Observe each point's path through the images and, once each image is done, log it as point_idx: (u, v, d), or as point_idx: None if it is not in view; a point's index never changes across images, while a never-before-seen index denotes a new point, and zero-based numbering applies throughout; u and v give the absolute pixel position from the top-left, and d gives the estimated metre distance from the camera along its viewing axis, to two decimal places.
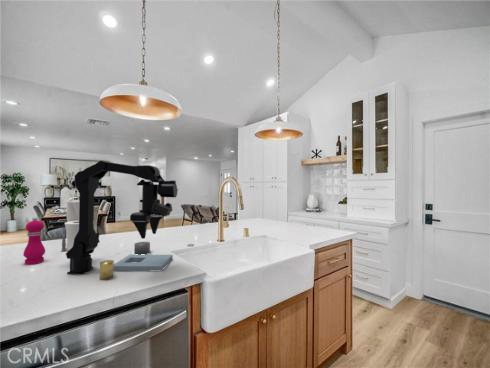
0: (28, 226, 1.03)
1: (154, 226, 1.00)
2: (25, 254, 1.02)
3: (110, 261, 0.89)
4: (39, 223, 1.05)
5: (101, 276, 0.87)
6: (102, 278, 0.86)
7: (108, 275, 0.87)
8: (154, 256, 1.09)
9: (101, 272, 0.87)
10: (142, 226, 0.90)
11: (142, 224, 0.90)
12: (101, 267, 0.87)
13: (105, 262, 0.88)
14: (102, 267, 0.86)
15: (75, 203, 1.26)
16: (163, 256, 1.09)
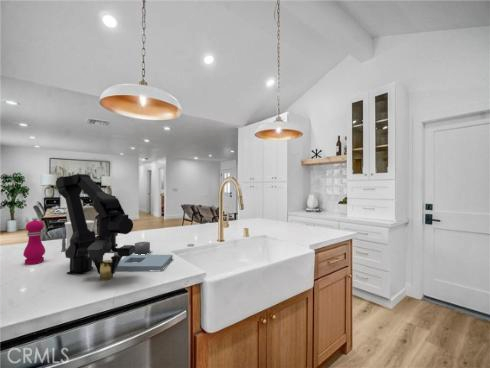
0: (28, 226, 1.03)
1: None
2: (25, 254, 1.02)
3: (110, 261, 0.89)
4: (39, 223, 1.05)
5: (101, 276, 0.87)
6: (102, 278, 0.86)
7: (108, 275, 0.87)
8: (154, 256, 1.09)
9: (101, 272, 0.87)
10: None
11: None
12: (101, 267, 0.87)
13: (105, 262, 0.88)
14: (102, 267, 0.86)
15: None
16: (163, 256, 1.09)
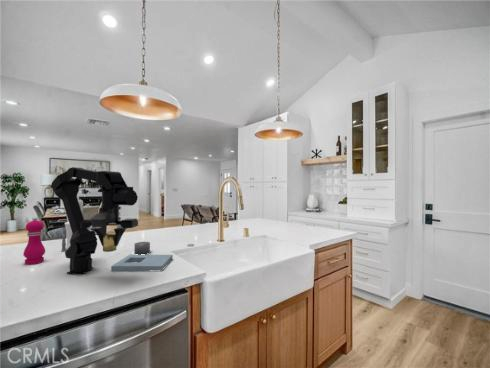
0: (28, 226, 1.03)
1: None
2: (25, 254, 1.02)
3: (113, 234, 0.90)
4: (39, 223, 1.05)
5: (104, 248, 0.88)
6: (105, 249, 0.88)
7: (111, 247, 0.88)
8: (154, 256, 1.09)
9: (104, 244, 0.88)
10: None
11: None
12: (104, 239, 0.88)
13: (108, 234, 0.89)
14: (105, 238, 0.88)
15: None
16: (163, 256, 1.09)
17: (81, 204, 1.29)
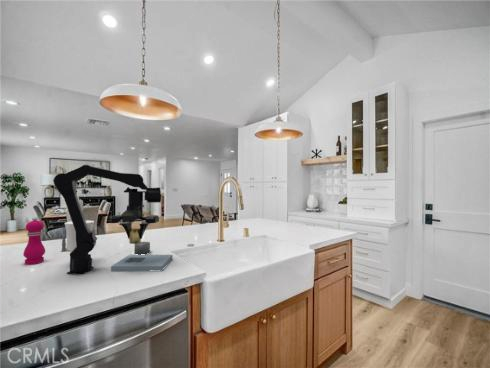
0: (28, 226, 1.03)
1: None
2: (25, 254, 1.02)
3: (138, 228, 1.04)
4: (39, 223, 1.05)
5: (131, 240, 1.02)
6: (132, 242, 1.01)
7: (137, 240, 1.02)
8: (154, 256, 1.09)
9: (131, 237, 1.02)
10: None
11: None
12: (131, 232, 1.02)
13: (134, 228, 1.03)
14: (131, 232, 1.02)
15: None
16: (163, 256, 1.09)
17: (81, 204, 1.29)
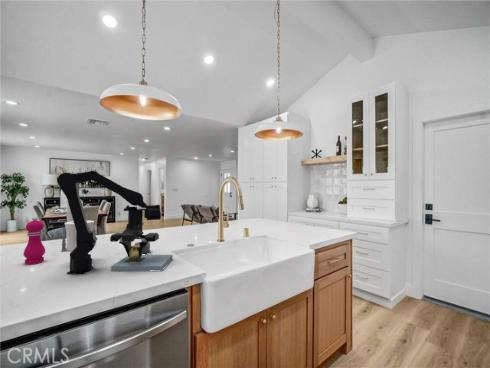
0: (28, 226, 1.03)
1: None
2: (25, 254, 1.02)
3: (138, 246, 1.04)
4: (39, 223, 1.05)
5: (131, 258, 1.02)
6: (131, 260, 1.01)
7: (137, 258, 1.02)
8: (154, 256, 1.09)
9: (131, 255, 1.02)
10: None
11: None
12: (131, 251, 1.02)
13: (133, 247, 1.03)
14: (131, 250, 1.01)
15: None
16: (163, 256, 1.09)
17: None
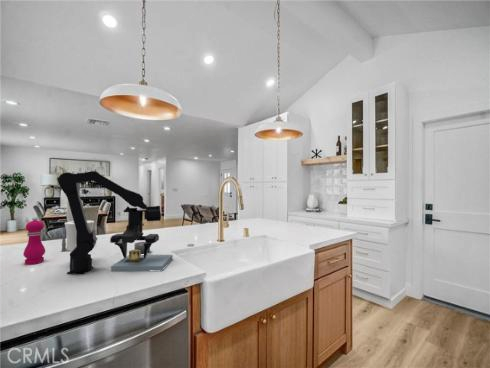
0: (28, 226, 1.03)
1: None
2: (25, 254, 1.02)
3: (137, 250, 1.04)
4: (39, 223, 1.05)
5: None
6: None
7: (136, 262, 1.02)
8: (154, 256, 1.09)
9: (130, 259, 1.02)
10: None
11: None
12: (130, 255, 1.02)
13: (133, 251, 1.03)
14: (131, 255, 1.01)
15: None
16: (163, 256, 1.09)
17: None
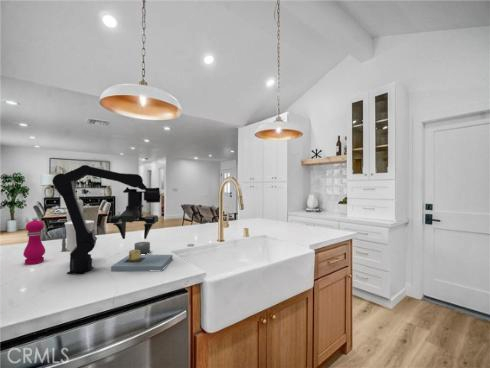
0: (28, 226, 1.03)
1: None
2: (25, 254, 1.02)
3: (137, 250, 1.04)
4: (39, 223, 1.05)
5: None
6: None
7: (136, 262, 1.02)
8: (154, 256, 1.09)
9: (130, 259, 1.02)
10: None
11: None
12: (130, 255, 1.02)
13: (133, 251, 1.03)
14: (131, 255, 1.01)
15: None
16: (163, 256, 1.09)
17: (81, 204, 1.29)
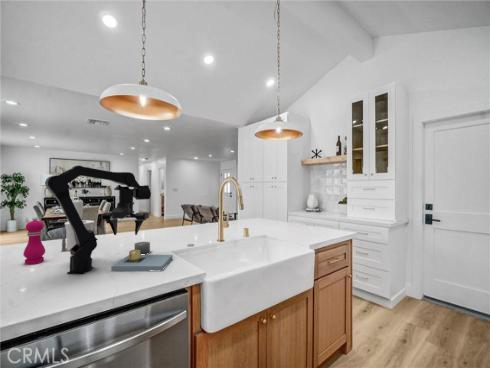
0: (28, 226, 1.03)
1: None
2: (25, 254, 1.02)
3: (137, 250, 1.04)
4: (39, 223, 1.05)
5: None
6: None
7: (136, 262, 1.02)
8: (154, 256, 1.09)
9: (130, 259, 1.02)
10: None
11: None
12: (130, 255, 1.02)
13: (133, 251, 1.03)
14: (131, 255, 1.01)
15: (75, 203, 1.26)
16: (163, 256, 1.09)
17: (81, 204, 1.29)
